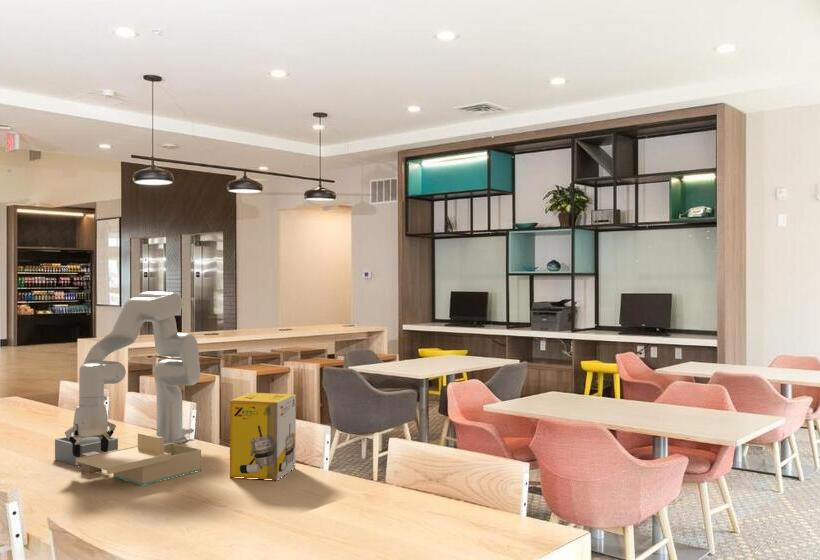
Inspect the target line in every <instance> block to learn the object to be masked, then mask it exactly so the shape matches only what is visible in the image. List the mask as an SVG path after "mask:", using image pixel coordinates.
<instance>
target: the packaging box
mask: <svg viewBox="0 0 820 560" xmlns="http://www.w3.org/2000/svg"><path fill="white" fill-rule="evenodd" d="M296 397H297V396H296V394H294V393H293V394H292V393H289V394H288V393H270V392H269V393H268V392H248V393H245V394H243V395H241V396H238V397H236V398H233V399H230V400H229V478H230V477H244V478H258V479H272V480H278V479H280V478H281V477H283V476H284V475H285V474H287V473H288V472H290V471H291V470H292V469H294V468H295V469H296V436H297V435H296V431H297V430H296V429H297V428H296V427H297V426H296V423H297V422H296V415H297V414H296V410H297V408H296V407H297V403H296V402H297V400H296V399H297V398H296ZM294 464H295V465H294ZM295 469H294V470H295ZM292 471H293V470H292ZM292 471H291V472H292ZM291 472H290V473H291ZM288 474H289V473H288ZM288 474H287V475H288ZM285 476H286V475H285ZM285 476H284V477H285ZM284 477H283V478H284ZM281 479H282V478H281ZM281 479H280V480H281Z"/></svg>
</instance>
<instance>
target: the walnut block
mask: <svg viewBox="0 0 820 560" xmlns="http://www.w3.org/2000/svg"><path fill="white" fill-rule="evenodd" d="M94 454H99V453H98V452H95V451H94V452H89V453H84V454H82V457H84V456H89V455H94ZM80 471H81V473H84V474H87V475H93V474H97V472H98V473H101V471H102V472H103V469H100V468H97V467H94V466H90V465H87V464H82V466H81V470H80Z"/></svg>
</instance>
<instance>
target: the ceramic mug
mask: <svg viewBox="0 0 820 560" xmlns="http://www.w3.org/2000/svg"><path fill="white" fill-rule="evenodd" d="M100 441H101V439H100V438H99V437H87V438H82V440H81V441H80V442H79V445H84V444H89V443H95V442H100Z"/></svg>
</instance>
